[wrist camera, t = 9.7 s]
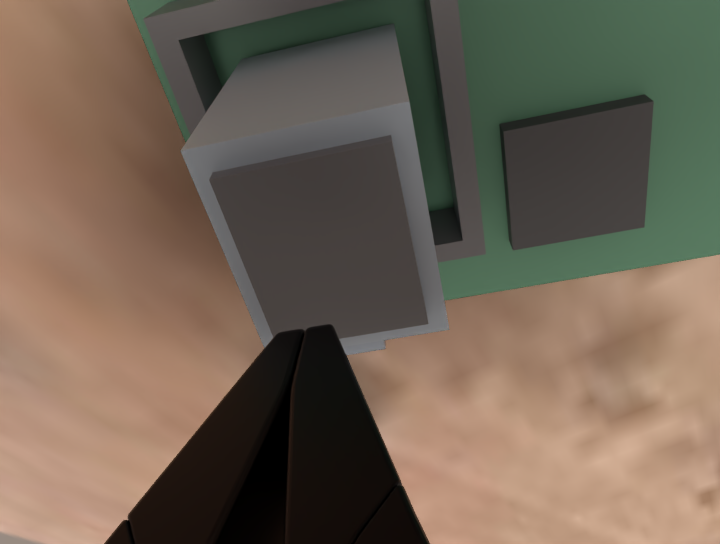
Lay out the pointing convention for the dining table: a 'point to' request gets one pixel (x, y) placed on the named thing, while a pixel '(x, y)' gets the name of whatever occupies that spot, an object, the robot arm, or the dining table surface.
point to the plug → (322, 192)
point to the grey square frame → (254, 3)
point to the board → (547, 125)
